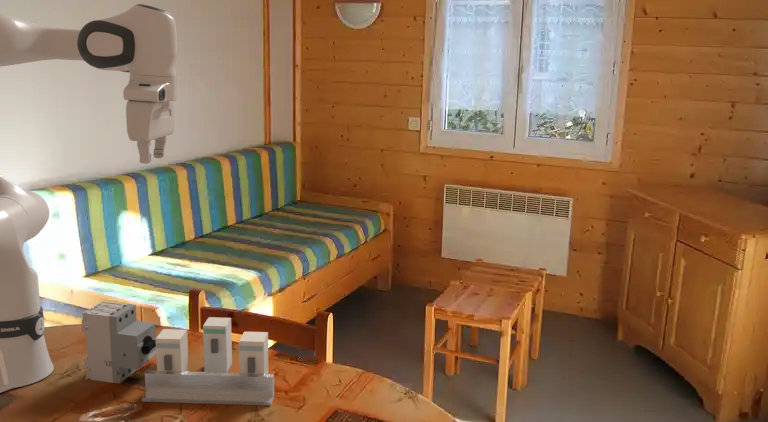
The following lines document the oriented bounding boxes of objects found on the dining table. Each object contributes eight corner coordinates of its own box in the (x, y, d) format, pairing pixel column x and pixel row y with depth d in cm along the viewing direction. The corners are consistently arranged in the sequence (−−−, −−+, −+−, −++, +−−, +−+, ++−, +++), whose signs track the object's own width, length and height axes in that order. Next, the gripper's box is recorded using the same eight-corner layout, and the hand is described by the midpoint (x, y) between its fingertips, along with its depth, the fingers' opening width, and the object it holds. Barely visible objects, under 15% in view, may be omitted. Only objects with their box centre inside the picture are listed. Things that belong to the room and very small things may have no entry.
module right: (239, 397, 145) (238, 342, 142) (245, 384, 150) (244, 331, 148) (263, 397, 145) (263, 343, 142) (268, 384, 150) (268, 332, 148)
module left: (156, 394, 145) (154, 340, 142) (165, 381, 150) (163, 329, 148) (181, 395, 145) (179, 340, 142) (189, 382, 150) (187, 329, 148)
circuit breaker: (146, 387, 148) (143, 319, 145) (85, 379, 151) (80, 312, 147) (164, 371, 155) (161, 307, 152) (105, 364, 158) (101, 301, 155)
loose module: (203, 374, 155) (202, 327, 152) (210, 362, 160) (208, 317, 158) (226, 374, 155) (225, 327, 152) (232, 363, 160) (231, 317, 158)
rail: (141, 401, 142) (140, 378, 141) (148, 392, 146) (147, 370, 144) (270, 405, 142) (270, 382, 141) (274, 396, 146) (273, 374, 144)
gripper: (151, 88, 149) (151, 154, 152) (120, 90, 129) (119, 165, 131) (182, 91, 149) (180, 156, 152) (155, 92, 129) (154, 167, 132)
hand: (152, 160), depth 141 cm, fingers open, 8 cm apart
